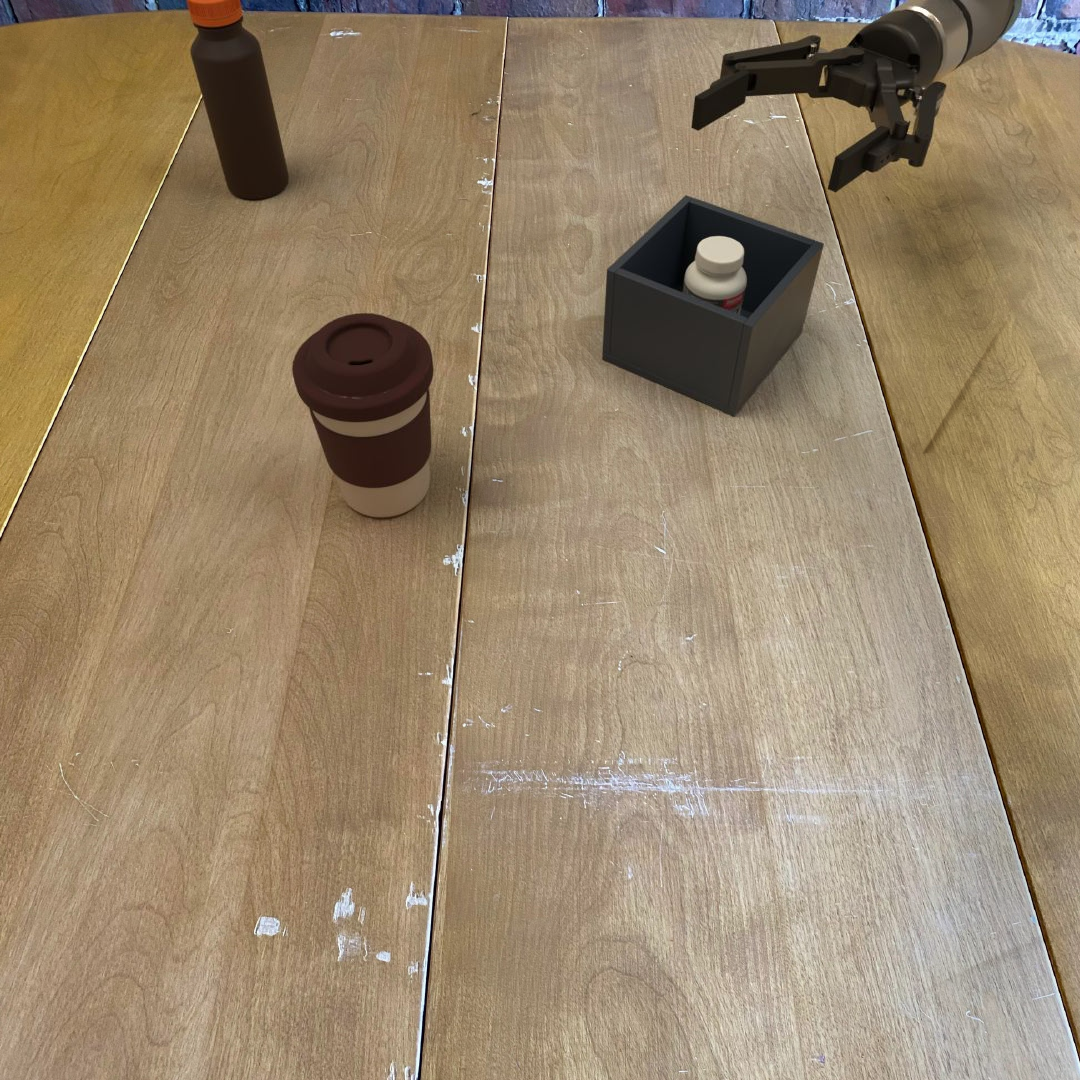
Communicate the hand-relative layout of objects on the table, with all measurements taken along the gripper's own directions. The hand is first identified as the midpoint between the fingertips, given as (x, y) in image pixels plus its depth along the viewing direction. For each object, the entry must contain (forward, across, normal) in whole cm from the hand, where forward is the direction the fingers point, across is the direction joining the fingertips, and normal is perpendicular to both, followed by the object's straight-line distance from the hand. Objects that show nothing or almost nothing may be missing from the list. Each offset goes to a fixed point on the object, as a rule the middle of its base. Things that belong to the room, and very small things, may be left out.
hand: (763, 143), depth 79 cm
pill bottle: (+4, 0, -18) cm, 18 cm away
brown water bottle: (+16, +53, -19) cm, 58 cm away
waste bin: (+4, 0, -18) cm, 19 cm away
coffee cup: (+36, +8, -18) cm, 41 cm away
